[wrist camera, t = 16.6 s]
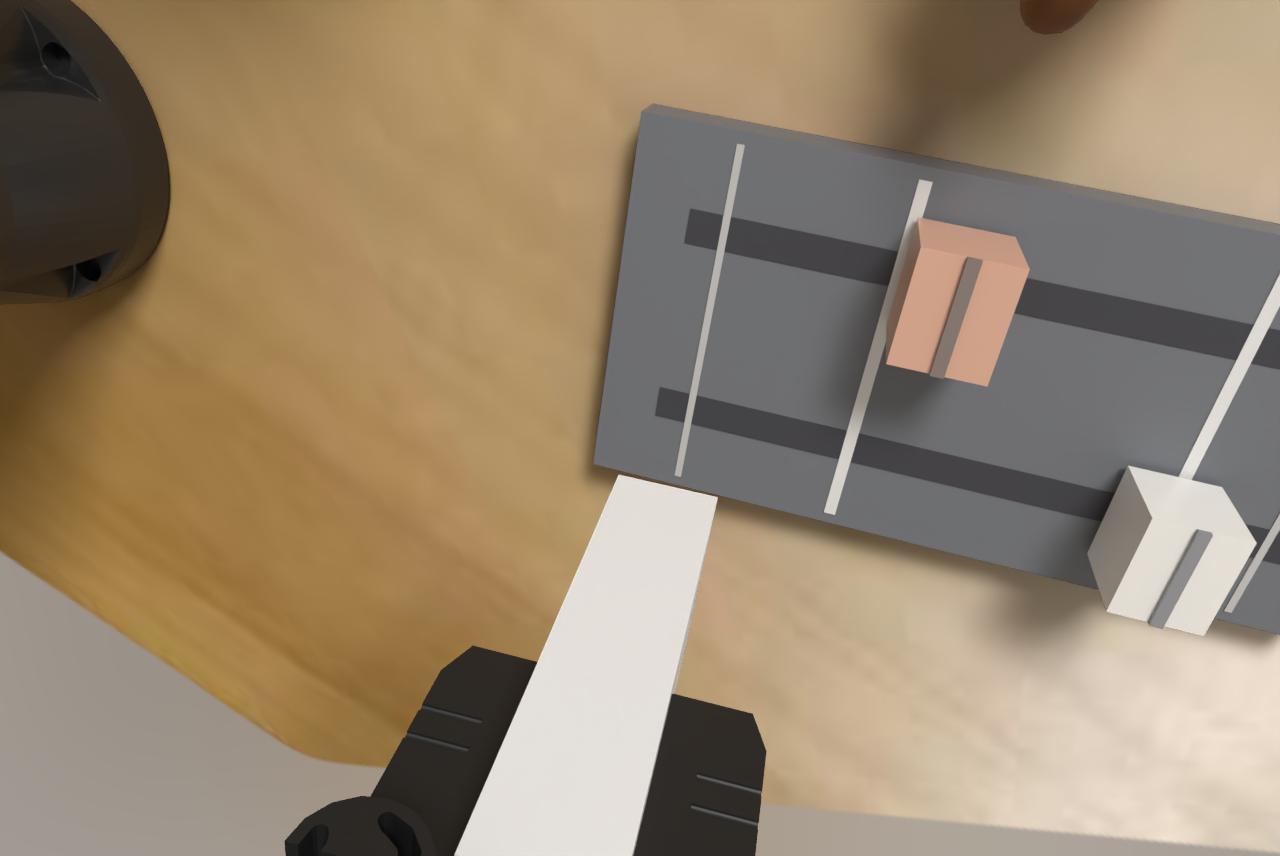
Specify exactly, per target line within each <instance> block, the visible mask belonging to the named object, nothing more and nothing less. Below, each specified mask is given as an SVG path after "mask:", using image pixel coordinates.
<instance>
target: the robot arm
mask: <svg viewBox="0 0 1280 856" xmlns="http://www.w3.org/2000/svg"><path fill="white" fill-rule="evenodd" d="M168 198H169V177H168V166H167V159H166V153H165V148H164V144H163V140H162V136H161V132H160V129H159V126H158V123H157V120H156V117H155V115H154V112H153V110H152V107H151V105H150V103H149V100H148V98H147V96H146V94H145V92H144V90H143V88H142V86H141V84H140V82H139V81H138V79H137V77H136V75H135V74H134V72H133V70H132V69H131V67H130V66H129V64H128V63H127V61H126V60H125V58H124V57H123V55H122V54H121V53H120V51H119V50H118V48H117V47H116V46H115V45H114V43H113V42H112V41H111V40H110V38H109V37H108V36H107V35H106V34H105V33H104V32H103V30H102V29H101V28H100V27H99V26H98V25H97V24H96V23H95V22H94V21H93V20H92V19H91V18H90V17H89V16H88V15H87V14H86V13H85V12H83V11H82V10H81V9H80V8H79V7H78V6H77V5H75V4H74V3H73V2H72V1H70V0H0V304H27V303H55V302H63V301H69V300H73V299H77V298H81V297H84V296H87V295H90V294H92V293H94V292H97V291H99V290H101V289H104V288H106V287H108V286H110V285H113V284H115V283H117V282H119V281H121V280H123V279H125V278H127V277H128V276H130V275H131V274H132V273H134V272H135V271H136V270H137V269H138V268H139V267H140V266H142V265H143V263H144V262H145V261H146V260H147V259H148V257H149V256H150V254H151V253H152V251H153V250H154V248H155V246H156V244H157V243H158V240H159V238H160V235H161V233H162V230H163V227H164V223H165V219H166V215H167V208H168ZM717 500H718V497H715V496H711V495H706V494H702V493H697V492H693V491H689V490H684V489H680V488H675V487H671V486H667V485H662V484H658V483H654V482H649V481H645V480H640V479H636V478H632V477H627V476H623V475H618V477H617V480H616V482H615V484H614V487H613V489H612V491H611V494H610V496H609V498H608V501H607V503H606V505H605V507H604V510H603V512H602V514H601V517H600V519H599V521H598V524H597V526H596V528H595V531H594V533H593V535H592V538H591V540H590V542H589V544H588V547H587V549H586V551H585V554H584V556H583V558H582V561H581V563H580V565H579V568H578V570H577V572H576V575H575V577H574V579H573V582H572V584H571V586H570V588H569V591H568V593H567V595H566V598H565V600H564V602H563V605H562V607H561V609H560V612H559V614H558V616H557V619H556V621H555V623H554V625H553V628H552V630H551V632H550V635H549V637H548V639H547V642H546V644H545V646H544V649H543V651H542V653H541V656H540V658H539V660H538V662H535V661H531V660H527V659H523V658H519V657H516V656H512V655H508V654H504V653H500V652H496V651H492V650H488V649H484V648H480V647H476V646H472V647H471V648H469V649H468V650H467V651H465V652H464V653H463V654H461V655H460V656H459V657H458V658H456V659H455V660H454V661H452V662H451V663H450V664H448V665H447V666H446V667H445V668H443V669H442V670H441V671H440V673H439V675H438V677H437V678H436V680H435V682H434V684H433V686H432V687H431V689H430V691H429V693H428V694H427V696H426V698H425V700H424V702H423V704H422V708H421V710H419V711H418V712H417V714H416V716H415V718H414V720H413V721H412V723H411V725H410V727H409V729H408V730H407V735H406V737H405V738H403V739H402V741H401V743H400V745H399V746H398V748H397V750H396V752H395V754H394V755H393V757H392V759H391V761H390V763H389V764H388V766H387V768H386V770H385V772H384V773H383V775H382V777H381V779H380V781H379V782H378V784H377V786H376V788H375V789H374V791H373V793H372V795H371V797H366V796H360V797H355V798H351V799H346V800H342V801H338V802H333V803H331V804H329V805H327V806H326V807H324V808H322V809H320V810H318V811H317V812H315V813H313V814H312V815H310V816H308V817H306V818H305V819H304V820H303V821H302V822H301V823H300V824H299V826H298V827H297V828H296V829H295V830H294V831H293V832H292V833H291V834H290V836H289V837H288V838H287V839H286V840H285V851H286V856H755V852H756V843H757V833H758V829H757V828H758V822H759V814H760V805H761V792H762V786H763V777H764V768H765V758H766V749H765V746H764V744H763V741H762V738H761V735H760V733H759V730H758V727H757V724H756V722H755V719H754V716H753V714H751V713H747V712H743V711H739V710H735V709H731V708H727V707H723V706H720V705H716V704H712V703H708V702H704V701H700V700H696V699H692V698H688V697H684V696H680V695H676V694H675V689H676V685H677V681H678V677H679V672H680V668H681V664H682V660H683V655H684V651H685V647H686V643H687V638H688V634H689V629H690V625H691V620H692V615H693V611H694V606H695V601H696V597H697V592H698V588H699V583H700V578H701V574H702V569H703V564H704V560H705V555H706V551H707V546H708V541H709V537H710V532H711V527H712V523H713V518H714V513H715V509H716V504H717Z"/></svg>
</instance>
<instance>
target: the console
mask: <svg viewBox="0 0 1280 856" xmlns="http://www.w3.org/2000/svg"><path fill="white" fill-rule="evenodd" d="M918 217H919V218H924V219H929V220H934V221H939V222H944V223H949V224H954V225H959V226H964V227H969V228H974V229H979V230H984V231H989V232H994V233H999V234H1004V235H1009V236H1014V237H1016V239H1017V241H1018V244H1019V246H1020V248H1021V250H1022V253H1023V255H1024V257H1025V259H1026V262H1027V264H1028V266H1029V269H1030V270H1029V273H1028V276H1027V278H1026V281H1025V284H1024V287H1023V290H1022V292H1021V295H1020V298H1019V301H1018V303H1017V306H1016V309H1015V312H1014V314H1013V317H1012V320H1011V323H1010V326H1009V328H1008V331H1007V334H1006V337H1005V339H1004V342H1003V345H1002V348H1001V350H1000V353H999V356H998V359H997V361H996V364H995V367H994V370H993V373H992V375H991V378H990V381H989V384H988V386H982V385H978V384H973V383H969V382H964V381H960V380H955V379H951V378H946V377H944V379H941V378H936V377H932V376H929V374H928V373H924V372H919V371H915V370H910V369H906V368H901V367H897V366H892V365H888V364H886V324H887V320H888V317H889V314H890V310H891V307H892V303H893V300H894V296H895V293H896V290H897V286H898V283H899V279H900V276H901V272H902V269H903V266H904V262H905V259H906V255H907V252H908V248H909V245H910V242H911V238H912V235H913V231H914V228H915V224H916V221H917V218H918ZM593 464H595V465H599V466H603V467H607V468H611V469H615V470H619V471H623V472H627V473H631V474H635V475H639V476H643V477H647V478H651V479H655V480H659V481H663V482H667V483H671V484H675V485H679V486H683V487H687V488H691V489H695V490H699V491H703V492H707V493H712V494H716V495H720V496H724V497H728V498H732V499H736V500H740V501H744V502H748V503H752V504H756V505H760V506H764V507H768V508H772V509H776V510H780V511H784V512H788V513H792V514H796V515H800V516H804V517H808V518H812V519H816V520H820V521H824V522H828V523H832V524H836V525H840V526H844V527H848V528H852V529H857V530H861V531H865V532H869V533H873V534H877V535H881V536H885V537H889V538H893V539H897V540H901V541H905V542H909V543H913V544H917V545H921V546H925V547H929V548H933V549H937V550H941V551H945V552H949V553H953V554H957V555H961V556H965V557H969V558H973V559H977V560H981V561H985V562H989V563H993V564H997V565H1002V566H1006V567H1010V568H1014V569H1018V570H1022V571H1026V572H1030V573H1034V574H1038V575H1042V576H1046V577H1050V578H1054V579H1058V580H1062V581H1066V582H1070V583H1074V584H1078V585H1082V586H1086V587H1090V588H1094V589H1098V590H1099V588H1098V585H1097V582H1096V579H1095V576H1094V573H1093V570H1092V567H1091V564H1090V561H1089V558H1088V555H1087V553H1088V550H1089V548H1090V546H1091V544H1092V542H1093V540H1094V537H1095V535H1096V533H1097V531H1098V529H1099V527H1100V525H1101V522H1102V520H1103V518H1104V516H1105V514H1106V512H1107V510H1108V507H1109V505H1110V503H1111V501H1112V499H1113V497H1114V494H1115V492H1116V490H1117V488H1118V486H1119V484H1120V482H1121V479H1122V477H1123V475H1124V473H1125V471H1126V469H1127V466H1132V467H1137V468H1141V469H1145V470H1150V471H1154V472H1159V473H1163V474H1167V475H1172V476H1176V477H1180V478H1185V479H1189V480H1193V481H1198V482H1202V483H1206V484H1211V485H1215V486H1219V487H1222V488H1223V489H1224V491H1225V492H1226V494H1227V496H1228V497H1229V499H1230V501H1231V502H1232V504H1233V505H1234V507H1235V509H1236V510H1237V512H1238V513H1239V515H1240V517H1241V518H1242V520H1243V522H1244V523H1245V525H1246V526H1247V528H1248V530H1249V531H1250V533H1251V534H1252V536H1253V538H1254V539H1255V541H1256V543H1257V544H1256V546H1255V547H1254V549H1253V551H1252V553H1251V554H1250V556H1249V558H1248V560H1247V561H1246V563H1245V565H1244V567H1243V568H1242V570H1241V572H1240V574H1239V575H1238V577H1237V579H1236V581H1235V582H1234V584H1233V586H1232V588H1231V589H1230V591H1229V593H1228V595H1227V596H1226V598H1225V600H1224V602H1223V603H1222V605H1221V607H1220V609H1219V610H1218V612H1217V614H1216V616H1215V617H1214V618H1215V619H1219V620H1223V621H1227V622H1231V623H1235V624H1239V625H1243V626H1247V627H1251V628H1255V629H1259V630H1263V631H1267V632H1271V633H1275V634H1279V635H1280V224H1276V223H1271V222H1266V221H1261V220H1256V219H1250V218H1245V217H1240V216H1235V215H1229V214H1224V213H1219V212H1214V211H1209V210H1203V209H1198V208H1193V207H1188V206H1183V205H1177V204H1172V203H1167V202H1162V201H1157V200H1151V199H1146V198H1141V197H1136V196H1131V195H1125V194H1120V193H1115V192H1110V191H1104V190H1099V189H1094V188H1089V187H1084V186H1078V185H1073V184H1068V183H1063V182H1058V181H1052V180H1047V179H1042V178H1037V177H1032V176H1026V175H1021V174H1016V173H1011V172H1006V171H1000V170H995V169H990V168H985V167H979V166H974V165H969V164H964V163H959V162H953V161H948V160H943V159H938V158H933V157H927V156H922V155H917V154H912V153H907V152H901V151H896V150H891V149H886V148H881V147H875V146H870V145H865V144H860V143H855V142H849V141H844V140H839V139H834V138H828V137H823V136H818V135H813V134H808V133H802V132H797V131H792V130H787V129H782V128H776V127H771V126H766V125H761V124H756V123H750V122H745V121H740V120H735V119H730V118H724V117H719V116H714V115H709V114H703V113H698V112H693V111H688V110H683V109H677V108H672V107H667V106H662V105H657V104H652V105H650V106H649V107H647V108H646V109H644V110H643V111H642V112H641V120H640V127H639V134H638V141H637V149H636V156H635V163H634V170H633V178H632V185H631V192H630V199H629V207H628V214H627V221H626V229H625V236H624V243H623V250H622V258H621V265H620V272H619V279H618V287H617V294H616V301H615V309H614V316H613V323H612V330H611V338H610V345H609V352H608V359H607V367H606V374H605V381H604V388H603V396H602V403H601V410H600V418H599V425H598V432H597V439H596V447H595V454H594V461H593Z"/></svg>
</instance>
